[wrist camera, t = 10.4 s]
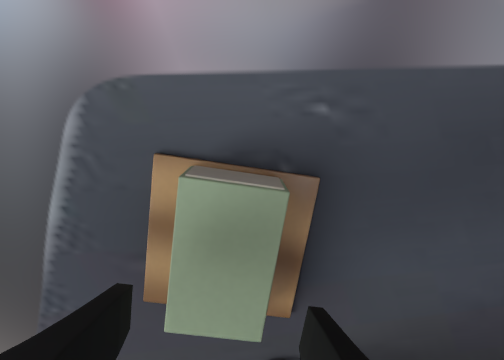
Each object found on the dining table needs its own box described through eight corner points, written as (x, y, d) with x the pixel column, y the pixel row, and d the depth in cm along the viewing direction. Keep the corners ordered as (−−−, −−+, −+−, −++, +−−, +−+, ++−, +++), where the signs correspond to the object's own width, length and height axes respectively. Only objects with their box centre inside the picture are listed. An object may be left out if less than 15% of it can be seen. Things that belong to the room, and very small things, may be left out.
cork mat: (288, 314, 19) (289, 318, 18) (145, 297, 18) (143, 301, 18) (318, 176, 16) (320, 178, 16) (155, 152, 16) (153, 153, 15)
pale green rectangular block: (258, 306, 18) (261, 343, 15) (177, 297, 18) (163, 332, 15) (282, 177, 16) (291, 190, 13) (190, 163, 16) (178, 174, 13)
